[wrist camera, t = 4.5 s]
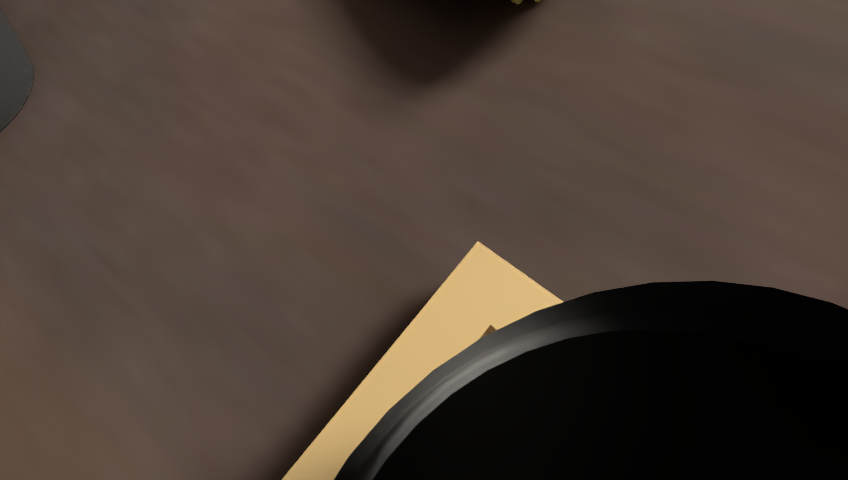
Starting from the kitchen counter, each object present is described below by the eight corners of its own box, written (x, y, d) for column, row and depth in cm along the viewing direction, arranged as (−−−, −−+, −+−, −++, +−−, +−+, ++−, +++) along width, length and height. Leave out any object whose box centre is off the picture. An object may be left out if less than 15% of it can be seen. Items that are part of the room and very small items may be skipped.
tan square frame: (703, 442, 14) (776, 452, 11) (539, 722, 12) (566, 842, 9) (475, 274, 16) (477, 241, 13) (310, 479, 14) (265, 499, 11)
